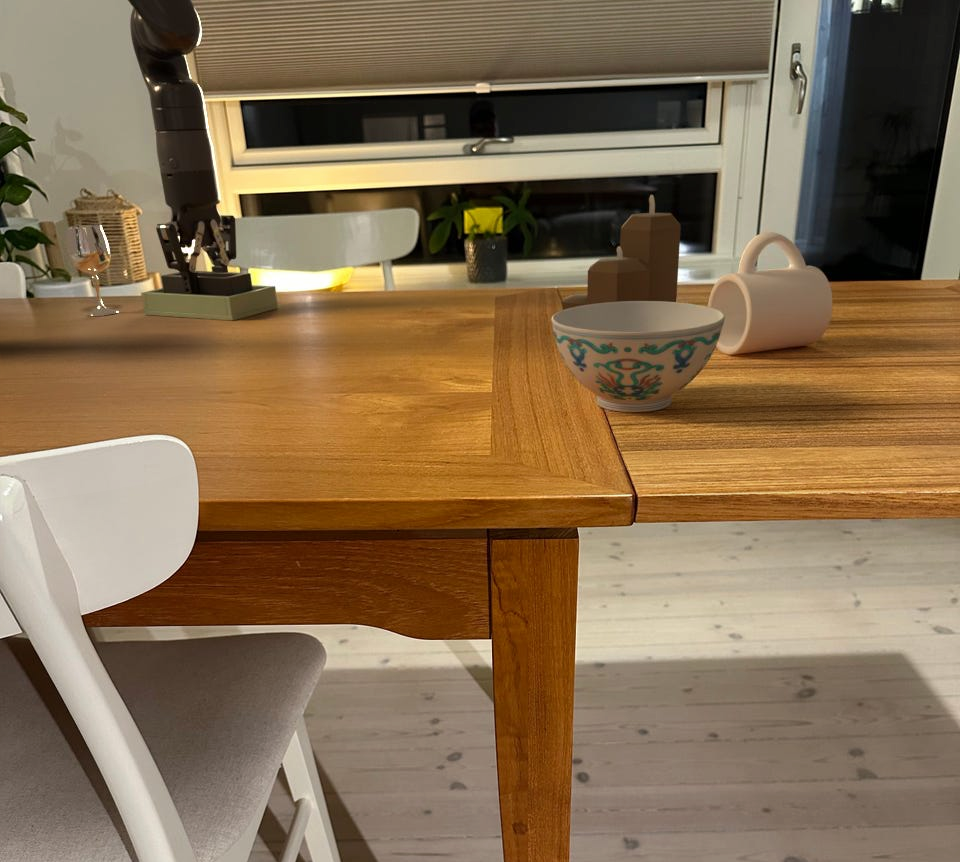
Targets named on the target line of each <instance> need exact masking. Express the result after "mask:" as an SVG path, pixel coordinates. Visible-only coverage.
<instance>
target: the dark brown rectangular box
mask: <svg viewBox="0 0 960 862" xmlns="http://www.w3.org/2000/svg"><path fill="white" fill-rule="evenodd" d="M195 272H197V274H198V282H199V288H200V294H201V295H213V296H232V295H237V294H241V293H245V292H249V291H253V288H252V285H253V281H252V273H250V272H235V271H233V272H232V271H230V272H229V271H228V272H212V271H211V270H209V271H208V270H195ZM160 278H161V285H162V288H163V290H164V293H174V294H185V293H184V288H183V283H182V278H181V273H180V272H179V271H177V272H173V273H168V274H163V275H160Z"/></svg>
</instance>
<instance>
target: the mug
mask: <svg viewBox="0 0 960 862" xmlns="http://www.w3.org/2000/svg"><path fill="white" fill-rule="evenodd" d="M770 244H776V245H777V246H778V247H779V248H780V249H781V250H782V252H783V254H784V255H785V257H786V259H787V261H788V263H789V265H788V267H782V268H781V267H779V268H771V269H761V270H755V267H756V264H757V261H758V258H759V256H760V255H761V253H762V252H763V250H764V249H765V248H766V247H767V246H768V245H770ZM805 261H806V260H805V259H804V256H803V255H802V252H801V251H800V249H799V248H798V247H797V246H796V245H795V243H794V242H793V241H792V240H790V239H789V238H788V237H786V236H785V235H783V234H780V233H778V232H773V231H766V232H761V233H759V234H757V235H755V236H754V237H753V238H752V239H751V240H750V241H749V242H748V244H747V245H746V247H745V248H744V250H743V253H742V255H741V258H740V262H739V265H738V271H737V272H731V273H730V272H729V273H726V274H724V275H722V276H721V277H720V278H718V280H717V281H716V282H715V283H714V285H713V287H712V289H711V291H710V294H709V298H708V302H707V307H711V308H714V309H717V310H719V311H721V312H722V313H723V314H724V315H725V319H724V324H723V327H722V331H721V334H720V337H719V340H718V342H717V345H716V347H715V348H716V349H717V350H718V351H720V352H721V353H723V354H724V355H728V356H733V355H734V356H735V355H742V354H750V353H757V352H765V351H772V350H773V351H774V350H781V349H788V348H796V347H804V346H811V345H813V344H815V343H817V342H818V341H819V340H820V339H822V337H823V336H824V335H825V333H826V331H827V329H828V327H829V325H830V323H831V318H832V315H833V305H834V303H833V292H832V289H831V288H832V287H831V285H830V282H829V280H828V278H827V276H826V275H825V273H824V272H823V271H822V270H821V269H820V268H819V267H816V266H814V265H813V266H812V265H806V262H805Z"/></svg>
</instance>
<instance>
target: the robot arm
mask: <svg viewBox="0 0 960 862" xmlns="http://www.w3.org/2000/svg"><path fill="white" fill-rule="evenodd" d="M127 2H128V3H129V4H130V6H131V7H132V10H131V14H130V21H129V27H130V37H131V42H132V43H131V44H132V47H133V51H134V54H135V57H136V60H137V64H138V66H139V69H140V72H141V76H142V78H143V81H144V83H145V86H146V88H147V89H146V90H147V92H148V95H149V100H150V101H149V102H150V109H151V114H152V120H153V125H154V131H155V133H154V134H155V143H156V144H155V145H156V154H157V161H158V165H159V173H160V178H161V184H162V189H163V195H164V201H165V204H166V205H167V206H168V207H169V208H170V210H171V217H170V221H167V222H165V223H157V224H156V226H155V230H156V234H157V237H158V240H159V243H160V246H161V251H162V254H163V257H164V260H165V262H166V266H167V268H168V269H170V270H175V271H177V272H180V273H181V278H182V283H183V288H184V293H185V294H193V295H201V294H200V288H199V282H198V274H197V272H195V271H197V262H198V257H199V256H200V255H201V250H202V251H203V252H204V253H206V255H207V256H208V259H209V261H210V263H211V265H213V266H211V272H229V269H228V266H229V264H230V262H231V261H232V260H236V258H237V229H236V228H237V227H236V217H235V216H234V215H225V214H224V215H223V214H222V215H221V214H220V212H219V210H218V206H217V205H219V204H220V203H221V200H222V199H221V192H220V185H219V178H218V172H217V171H218V170H217V165H216V158H215V151H214V146H213V142H212V138H211V135H210V130H209V123H208V117H207V111H206V110H207V109H206V103H205V99H204V94H203V90H202V88H201V87H200V85H199V84H198V83H197V82H196V81H194V80H193V79H192V77H191V74H190V70H189V66H188V62H187V58H186V56H188V55H190V54H191V53H193V52H194V51H195V50H196V49H197V48H198V46H199V45H200V42H201V38H202V26H201V20H200V17H199V15H198V12H197V10H196V7H195V5H194V4H193V1H192V0H127ZM227 247H228V249H227Z"/></svg>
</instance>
